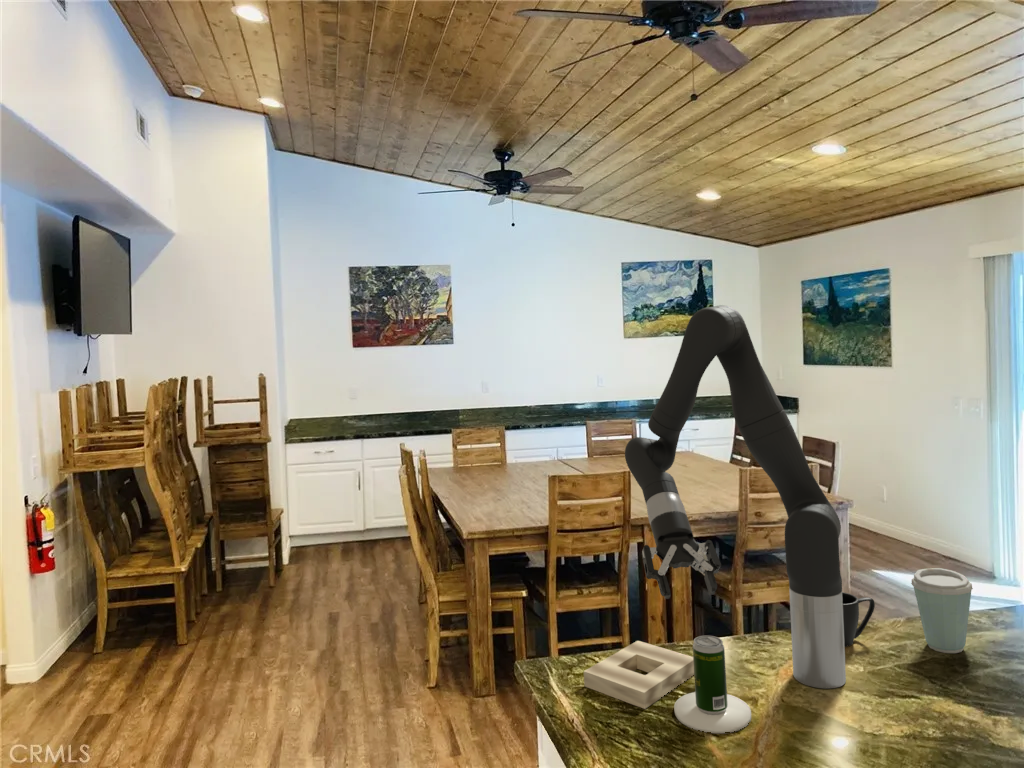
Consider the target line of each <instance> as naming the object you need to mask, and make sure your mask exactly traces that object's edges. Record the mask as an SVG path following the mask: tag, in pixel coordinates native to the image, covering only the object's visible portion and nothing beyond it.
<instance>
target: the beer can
mask: <svg viewBox="0 0 1024 768" xmlns="http://www.w3.org/2000/svg"><path fill="white" fill-rule="evenodd" d="M723 643H724V641H723V640H722V639H721V638H720V637H718V636H714V635H699V636H697V637H695V638H694V639H693V643H692V657H693V662H694V678H693V679H694V690H695V691H694V692H695V696H696V705H697V707H698V709H699V710H700V711H701V712H702V713H705V714H708V715H719V714H722V713H724V712H725V711H726V709H727V705H728V703H727V694H728V691H727V672H726V656H725V655H726V653H725V646H724V644H723Z"/></svg>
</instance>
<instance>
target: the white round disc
mask: <svg viewBox="0 0 1024 768" xmlns="http://www.w3.org/2000/svg"><path fill="white" fill-rule="evenodd" d="M727 703H728V705H727V709H726V711H725V712H724V713H722V714H719V715H708V714H705V713H702V712H701V711H700V710H699V709H698V707H697V705H696V696H695V691H692V692H689V693H686V694H683V695H682V696H680V697H679V698H678V699H677V700H676V701H675V702H674V705H673V708H674V715H675V717H676V719H677V721H679V722H680V723H681V724H683V725H684V726H685V727H688V728H689V729H692V728H693V729H692V730H695V731H698V730H700V731H699V732H702V731H704V732H703V733H707V732H711V733H710V734H726V733H725V732H730V733H735V732H738V731H741V730H743V729H745V728H746V727H748V726H749V724H750V723H751V721H752V710H751V707H750V706H749V705H748V703H747V702H745V701H744V700H742V699H740V697H737V696H734V695H731V694H729V693H727ZM749 722H750V723H749ZM748 723H749V724H748ZM744 727H745V728H744ZM742 728H743V729H742ZM740 729H741V730H740ZM734 731H735V732H734Z"/></svg>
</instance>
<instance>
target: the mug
mask: <svg viewBox="0 0 1024 768" xmlns="http://www.w3.org/2000/svg"><path fill="white" fill-rule="evenodd" d="M842 599H843V621H844V646H845V648H846V647H851V646H853V644H854V640H855V639H857V638H859V636H860V635H861V634H862V632H863V631H864V629H865V628H866V627H867V624H868V622H869V621H870V619H871V617H872V615H873V613H874V610H875V606H876V605H875V600H874V599H873V597H872V598H871V597H869V596H867V597H866V596H864V597H859V598H858V597H857V596H856V595H854V594H851V593H847V592H844V591H842ZM866 601H867V602H868V601H869V606H868V609H867V611H866V614H865V615H864V617H863V620H862V622H861V623H860V624H859V619H860V603H863V602H866ZM858 625H859V626H858Z"/></svg>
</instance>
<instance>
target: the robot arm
mask: <svg viewBox="0 0 1024 768" xmlns="http://www.w3.org/2000/svg"><path fill="white" fill-rule="evenodd" d="M715 357H716V358H717V360H718V361H719V363H720V365H721V367H722V369H723V370H724V373H725V375H726V378H727V381H728V385H729V386H728V387H729V390H730V391H729V393H730V400H731V407H732V414H733V418H734V420H735V424H736V426H737V428H738V431H739V432H740V434H741V436H742V438H743V440H744V443H745V445H746V447H747V449H748V451H749V452H750V454H751V455H752V457H753V458H754V459H755V461H756V462H757V464H758V465H759V466H760V467H761V469H762V470H763V471H764V472H765V474H766V475H767V476H768V477H769V478H770V480H771V481H772V483H773V485H774V487H775V488H776V489H777V491H778V492H777V493H778V494H779V496H780V497H779V498H780V499H781V501H782V503H783V506H784V509H785V512H786V514H787V520H786V521H785V525H784V549H785V562H786V564H785V566H786V574H787V578H788V586H789V588H788V590H789V611H790V612H789V613H790V628H791V652H792V653H791V654H792V672H793V677H794V679H795V680H796V681H798V682H799V683H801V684H803V685H805V686H808V687H813V688H816V689H817V688H818V689H836V688H840V687H842V686H843V685H845V684H846V681H847V678H846V677H847V675H846V649H845V648H846V647H845V646H844V621H843V599H842V592H843V579H842V574H841V569H840V568H841V563H840V544H839V541H840V540H839V538H840V535H841V533H842V532H841V530H842V529H841V528H842V527H841V526H842V525H841V520H840V518H839V516H838V514H837V512H836V510H835V508H834V507H833V506H832V504H831V503H830V501H829V499H828V498H827V496H826V494H825V493H824V491H823V490H822V488H821V486H820V485H819V483H818V482H817V479H815V476H814V475H813V473H812V470H811V468H810V466H809V464H808V461H807V458H806V456H805V453H804V451H803V448H802V446H801V443H800V441H799V439H798V437H797V434H796V432H795V429H794V427H793V425H792V423H791V420H790V419H789V416H788V415H787V413H786V410H785V409H784V407H783V405H782V403H781V401H780V399H779V398H778V395H777V394H776V391H775V389H774V387H773V385H772V384H771V383H772V382H770V380H769V378H768V376H767V374H766V372H765V370H764V368H763V366H762V364H761V362H760V359H759V357H758V355H757V352H756V349H755V347H754V344H753V341H752V338H751V335H750V332H749V328H748V327H747V324H746V323H745V320H744V318H743V316H742V315H741V313H740V312H739V311H738V310H736V309H735V308H733V307H731V306H728V305H723V304H722V305H721V304H719V305H716V306H715V305H714V306H708V307H703V308H701V309H699V310H697V311H696V312H695V313H694V314H692V316H691V317H690V319H689V321H688V322H687V326H686V329H685V331H684V334H683V337H682V341H681V345H680V348H679V351H678V354H677V357H676V360H675V362H674V365H673V369H672V371H671V374H670V376H669V378H668V380H667V383H666V385H665V388H664V389H663V392H662V393H661V395H660V398H659V399H658V401H657V403H656V405H655V407H654V410H652V413H651V415H650V417H649V420H648V423H647V425H648V426H647V427H648V428H649V430H650V431H651V433H653V434H654V435H655V436H657V437H659V438H658V439H652V438H647V437H641V436H637V437H634V438H633V437H632V438H631V439H630V440H629V441H628V442H627V444H626V446H625V449H624V458H625V462H626V466H627V467H628V469H629V472H630V473H631V475H632V476H633V477H634V480H635V481H636V483H637V484H638V485H639V487H640V489H641V490H642V494H643V498H644V503H645V506H646V510H647V511H646V512H647V516H648V517H647V518H648V523H649V525H650V528H651V532H652V535H653V539H654V542H655V547H650V546H649V545H647V544H645V545H643V548H642V551H641V557H642V563H643V567H644V573H645V578H646V579H648V580H651V579H653V580H655V581H656V582H657V585H658V588H659V592H660V596H662V597H664V599H666V600H669V599H671V595H672V593H671V589H670V585H669V582H668V578H667V575H666V573H667V572H668V569H669V567H670V568H672V569H678V568H689V567H691V568H693V569H694V570H695V571H698V572H699V573H701V574H702V575H703V576H704V579H703V580H704V583H705V585H706V588H707V591H708V594H709V595H710V596H711V595H715V593H716V591H717V589H718V583H717V579H716V577H715V574H718V573H719V571H720V568H721V567H722V563H721V560H720V558H719V556H718V554H717V550H716V549H715V546H714V544H713V541H712V540H710V539H707V540H706V541H705V542H701V543H698V542H697V541H696V540H695V538H694V534H693V533H694V532H693V531H692V527H691V524H690V521H689V517H688V515H687V511H686V508H685V505H684V503H683V501H682V499H681V496H680V494H679V491H678V487H677V485H676V482H675V479H674V477H673V476H672V475H671V474H670V473H668V472H667V471H668V470H670V469H671V467H672V466H673V464H674V462H675V458H676V455H677V454H676V453H677V447H678V443H679V440H680V435H681V432H682V430H683V429H684V427H685V424H686V423H687V421H688V419H689V417H690V415H691V414H692V411H693V408H694V406H695V403H696V399H697V394H698V391H699V386H700V382H701V380H702V378H703V376H704V374H705V372H706V370H707V368H708V367H709V365H711V363H712V361H714V359H715ZM699 551H700V552H702V554H703V556H704V555H705V556H706V559H707V561H706V560H705V558H704V557H703V556H702V555H701V554H700V553H698V552H699ZM655 555H656V557H658V558H660V559H661V560H662V563H661V565H660V567H659V568H658V569H655V567H654V563H653V559H654V558H655V557H654V556H655Z"/></svg>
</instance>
